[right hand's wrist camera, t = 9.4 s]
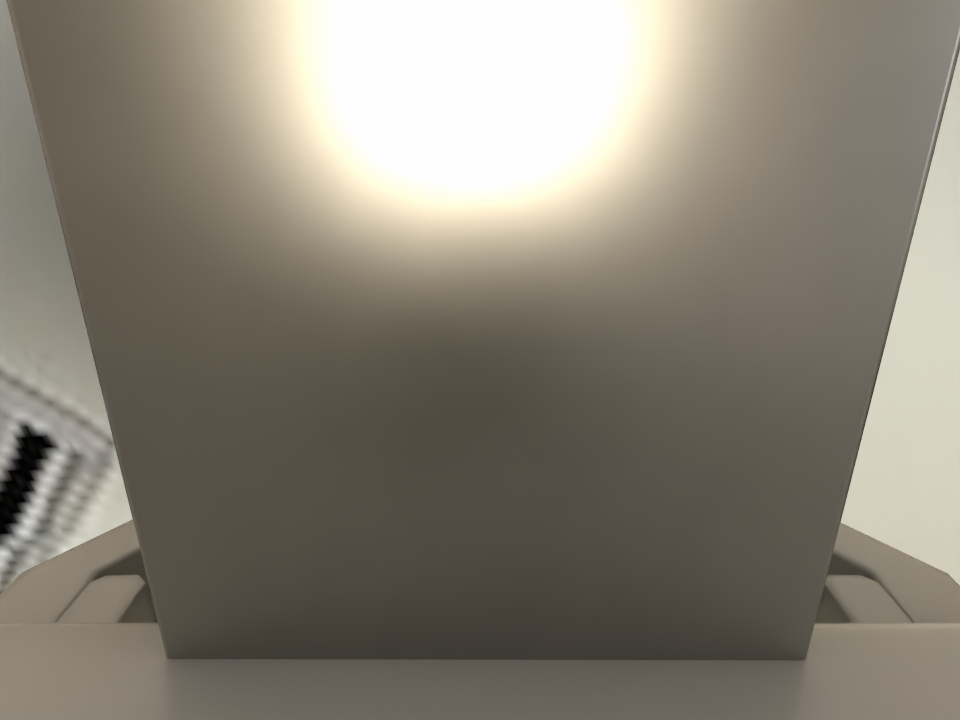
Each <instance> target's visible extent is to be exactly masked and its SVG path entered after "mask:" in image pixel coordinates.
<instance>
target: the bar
mask: <svg viewBox="0 0 960 720" xmlns="http://www.w3.org/2000/svg"><path fill="white" fill-rule="evenodd" d="M7 4H8V8H9V12H10V16H11V20H12V24H13V28H14V32H15V36H16V41H17V45H18V49H19V53H20V57H21V61H22V65H23V69H24V73H25V78H26V82H27V86H28V90H29V94H30V98H31V102H32V106H33V110H34V115H35V119H36V123H37V127H38V131H39V135H40V139H41V143H42V147H43V152H44V156H45V160H46V164H47V168H48V172H49V176H50V180H51V185H52V189H53V193H54V197H55V201H56V205H57V209H58V213H59V217H60V222H61V226H62V230H63V234H64V238H65V242H66V246H67V250H68V254H69V259H70V263H71V267H72V271H73V275H74V279H75V283H76V287H77V291H78V296H79V300H80V304H81V308H82V312H83V316H84V320H85V324H86V328H87V333H88V337H89V341H90V345H91V349H92V353H93V357H94V361H95V365H96V370H97V374H98V378H99V382H100V386H101V390H102V394H103V398H104V402H105V407H106V411H107V415H108V419H109V423H110V427H111V431H112V435H113V440H114V444H115V448H116V452H117V456H118V460H119V464H120V468H121V472H122V477H123V481H124V485H125V489H126V493H127V497H128V501H129V505H130V509H131V514H132V518H133V522H134V526H135V530H136V534H137V538H138V542H139V546H140V551H141V555H142V559H143V563H144V567H145V571H146V575H147V579H148V583H149V588H150V592H151V596H152V600H153V604H154V608H155V612H156V616H157V620H158V625H159V629H160V633H161V637H162V641H163V645H164V649H165V653H166V657H167V658H169V659H385V660H804V659H806V656H807V652H808V648H809V644H810V640H811V636H812V632H813V628H814V624H815V621H816V617H817V613H818V609H819V605H820V601H821V597H822V593H823V589H824V585H825V581H826V577H827V573H828V569H829V565H830V561H831V557H832V553H833V549H834V545H835V541H836V537H837V533H838V529H839V525H840V522H841V518H842V514H843V510H844V506H845V502H846V498H847V494H848V490H849V486H850V482H851V478H852V474H853V470H854V466H855V462H856V458H857V454H858V450H859V446H860V442H861V438H862V434H863V430H864V426H865V422H866V419H867V415H868V411H869V407H870V403H871V399H872V395H873V391H874V387H875V383H876V379H877V375H878V371H879V367H880V363H881V359H882V355H883V351H884V347H885V343H886V339H887V335H888V331H889V327H890V323H891V320H892V316H893V312H894V308H895V304H896V300H897V296H898V292H899V288H900V284H901V280H902V276H903V272H904V268H905V264H906V260H907V256H908V252H909V248H910V244H911V240H912V236H913V232H914V228H915V224H916V221H917V217H918V213H919V209H920V205H921V201H922V197H923V193H924V189H925V185H926V181H927V177H928V173H929V169H930V165H931V161H932V157H933V153H934V149H935V145H936V141H937V137H938V133H939V129H940V125H941V122H942V118H943V114H944V110H945V106H946V102H947V98H948V94H949V90H950V86H951V82H952V78H953V74H954V70H955V66H956V62H957V58H958V54H959V50H960V0H7Z"/></svg>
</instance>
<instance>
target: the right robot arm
mask: <svg viewBox="0 0 960 720" xmlns="http://www.w3.org/2000/svg"><path fill="white" fill-rule="evenodd" d="M0 720H960V586H959V585H958V584H957V583H956V582H955V581H954V580H953V579H952V578H951V577H950V576H949V575H948V574H947V573H945V572H943V571H941V570H939V569H937V568H935V567H933V566H930V565H928V564H926V563H924V562H922V561H920V560H918V559H916V558H914V557H912V556H909V555H907V554H905V553H903V552H901V551H899V550H897V549H895V548H893V547H891V546H888V545H886V544H884V543H882V542H880V541H878V540H876V539H874V538H872V537H870V536H867V535H865V534H863V533H861V532H859V531H857V530H855V529H853V528H851V527H849V526H846V525H844V524H842V523H840V525H839V529H838V533H837V537H836V541H835V545H834V549H833V553H832V557H831V561H830V565H829V569H828V573H827V577H826V581H825V585H824V589H823V593H822V597H821V601H820V605H819V609H818V613H817V617H816V621H815V624H814V628H813V632H812V636H811V640H810V644H809V648H808V652H807V656H806V659H804V660H385V659H169V658H167V657H166V653H165V649H164V645H163V641H162V637H161V633H160V629H159V625H158V620H157V616H156V612H155V608H154V604H153V600H152V596H151V592H150V588H149V583H148V579H147V575H146V571H145V567H144V563H143V559H142V555H141V551H140V546H139V542H138V538H137V534H136V530H135V526H134V522H133V520H131V521H129V522H127V523H125V524H123V525H120V526H118V527H116V528H114V529H112V530H110V531H108V532H106V533H104V534H102V535H100V536H97V537H95V538H93V539H91V540H89V541H87V542H85V543H83V544H81V545H79V546H77V547H75V548H72V549H70V550H68V551H66V552H64V553H62V554H60V555H58V556H56V557H54V558H52V559H49V560H47V561H45V562H43V563H41V564H39V565H37V566H35V567H33V568H31V569H29V570H27V571H24V572H22V573H21V574H20V575H19V576H18V577H17V578H16V579H15V580H14V581H13V582H12V583H11V584H10V585H9V586H8V587H7V588H6V589H5V590H4V591H3V592H2V593H1V594H0Z"/></svg>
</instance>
